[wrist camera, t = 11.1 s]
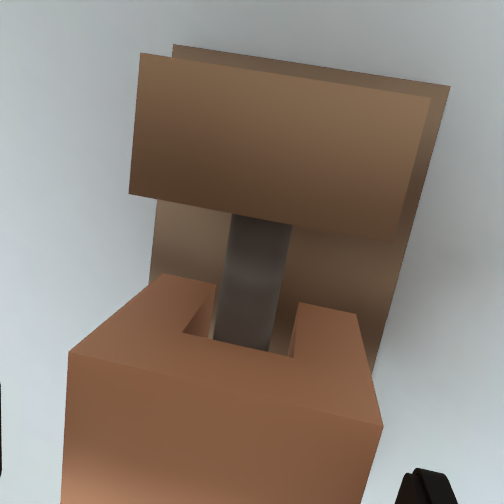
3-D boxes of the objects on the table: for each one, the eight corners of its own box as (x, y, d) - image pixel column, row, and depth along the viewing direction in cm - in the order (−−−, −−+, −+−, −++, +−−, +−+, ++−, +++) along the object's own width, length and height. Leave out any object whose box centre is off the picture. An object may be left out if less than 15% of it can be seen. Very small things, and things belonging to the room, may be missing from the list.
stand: (181, 50, 19) (9, -75, 8) (442, 90, 18) (636, 5, 7) (139, 438, 25) (5, 663, 14) (334, 486, 24) (352, 772, 13)
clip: (162, 272, 15) (68, 351, 9) (356, 314, 14) (383, 426, 9) (149, 391, 16) (59, 524, 11) (325, 434, 16) (331, 601, 10)
